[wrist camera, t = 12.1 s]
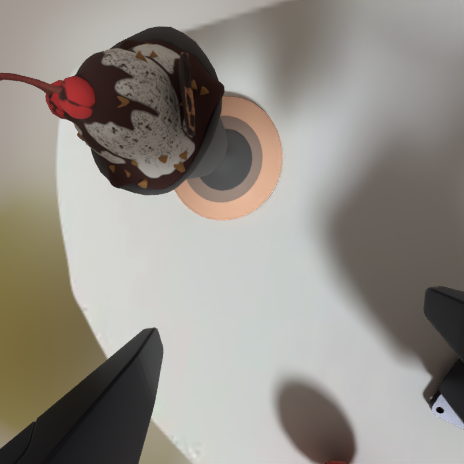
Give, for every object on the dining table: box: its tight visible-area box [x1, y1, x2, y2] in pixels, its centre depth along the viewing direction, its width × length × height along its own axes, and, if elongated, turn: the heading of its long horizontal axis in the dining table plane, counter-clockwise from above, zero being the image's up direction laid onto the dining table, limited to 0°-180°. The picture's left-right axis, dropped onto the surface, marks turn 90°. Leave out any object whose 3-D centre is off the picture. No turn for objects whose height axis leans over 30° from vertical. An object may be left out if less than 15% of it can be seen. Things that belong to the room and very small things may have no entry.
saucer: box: [174, 97, 283, 220], centre depth 20 cm, size 10×10×1 cm
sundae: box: [0, 27, 252, 195], centre depth 12 cm, size 7×7×15 cm
